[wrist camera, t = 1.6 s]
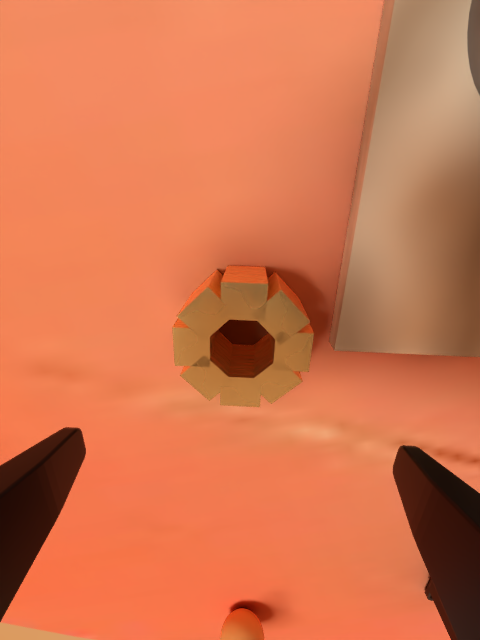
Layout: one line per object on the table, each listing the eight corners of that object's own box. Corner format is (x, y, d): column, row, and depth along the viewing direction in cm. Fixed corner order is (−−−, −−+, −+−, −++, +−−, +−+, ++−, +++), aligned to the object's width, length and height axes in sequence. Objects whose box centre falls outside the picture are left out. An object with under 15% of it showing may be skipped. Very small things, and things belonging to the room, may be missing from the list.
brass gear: (306, 268, 15) (320, 286, 12) (294, 371, 18) (303, 409, 15) (186, 264, 16) (169, 280, 12) (190, 366, 18) (177, 402, 15)
